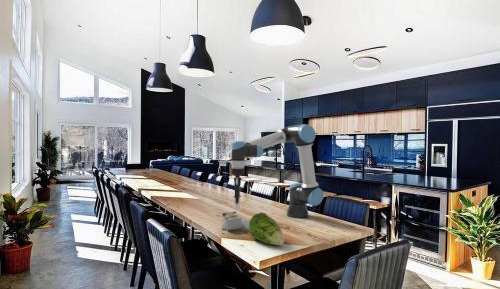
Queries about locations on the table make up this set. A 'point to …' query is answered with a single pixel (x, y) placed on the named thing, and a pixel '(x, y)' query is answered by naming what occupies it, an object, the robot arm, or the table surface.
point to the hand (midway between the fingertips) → (237, 208)
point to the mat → (244, 226)
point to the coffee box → (232, 220)
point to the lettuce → (265, 229)
